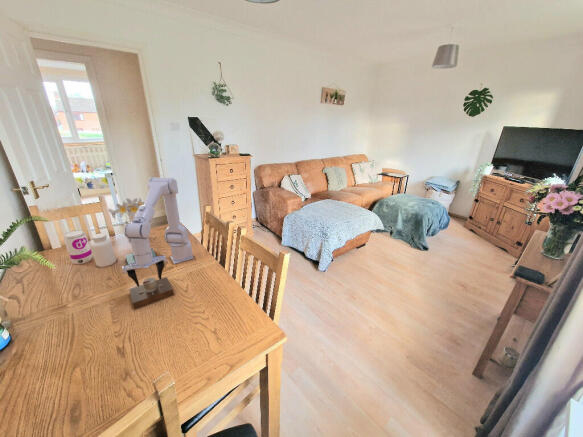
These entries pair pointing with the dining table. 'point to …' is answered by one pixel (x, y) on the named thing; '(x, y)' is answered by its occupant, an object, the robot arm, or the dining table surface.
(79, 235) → the supplement can
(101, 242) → the pill bottle
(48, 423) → the dining table surface
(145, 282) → the lock dial
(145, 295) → the lock panel
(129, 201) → the flower vase
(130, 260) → the push button box
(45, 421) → the dining table surface
